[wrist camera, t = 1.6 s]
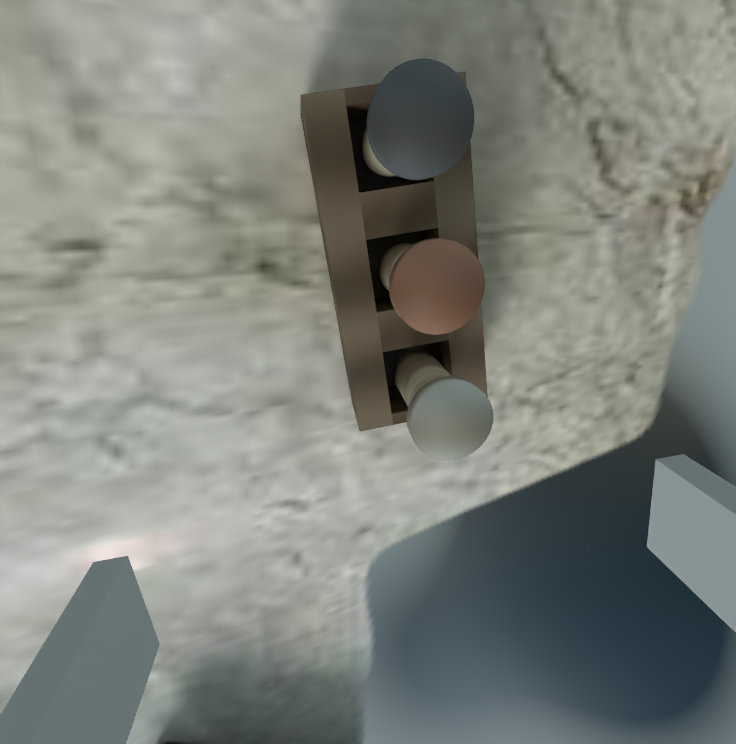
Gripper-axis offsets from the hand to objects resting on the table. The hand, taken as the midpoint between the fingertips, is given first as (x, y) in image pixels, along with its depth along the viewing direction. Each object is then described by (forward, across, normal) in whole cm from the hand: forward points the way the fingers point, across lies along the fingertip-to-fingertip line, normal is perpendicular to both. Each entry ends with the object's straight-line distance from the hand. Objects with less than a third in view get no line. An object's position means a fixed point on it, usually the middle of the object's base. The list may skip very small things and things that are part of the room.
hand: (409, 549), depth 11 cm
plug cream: (+20, +5, -3) cm, 20 cm away
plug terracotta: (+20, +4, +4) cm, 21 cm away
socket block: (+24, +4, +4) cm, 24 cm away
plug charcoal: (+20, +4, +11) cm, 23 cm away
